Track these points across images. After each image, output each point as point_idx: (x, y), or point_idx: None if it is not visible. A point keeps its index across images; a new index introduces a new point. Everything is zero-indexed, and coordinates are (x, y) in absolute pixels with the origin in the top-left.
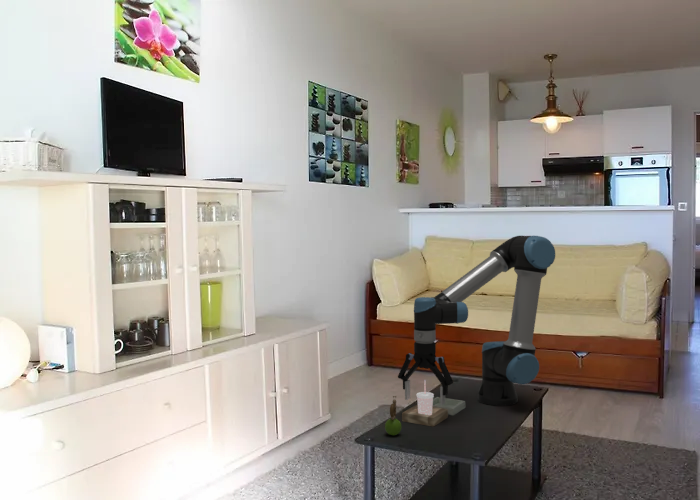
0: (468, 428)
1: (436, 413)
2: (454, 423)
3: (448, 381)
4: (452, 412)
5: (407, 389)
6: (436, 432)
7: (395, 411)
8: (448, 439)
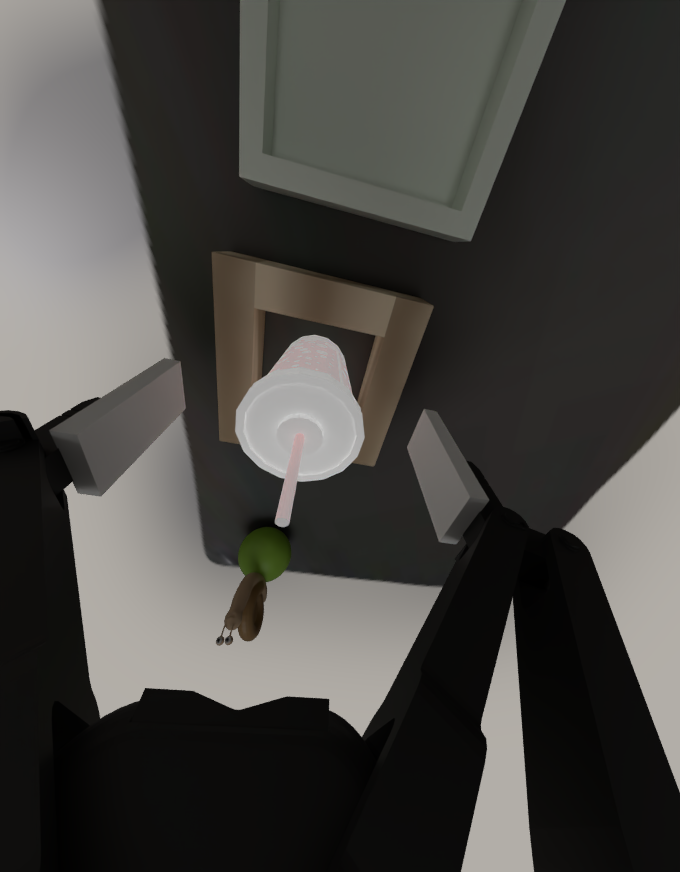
0: (506, 426)
1: (377, 406)
2: (453, 382)
3: (535, 599)
4: (455, 239)
5: (146, 438)
6: (388, 488)
7: (257, 597)
8: (428, 524)
